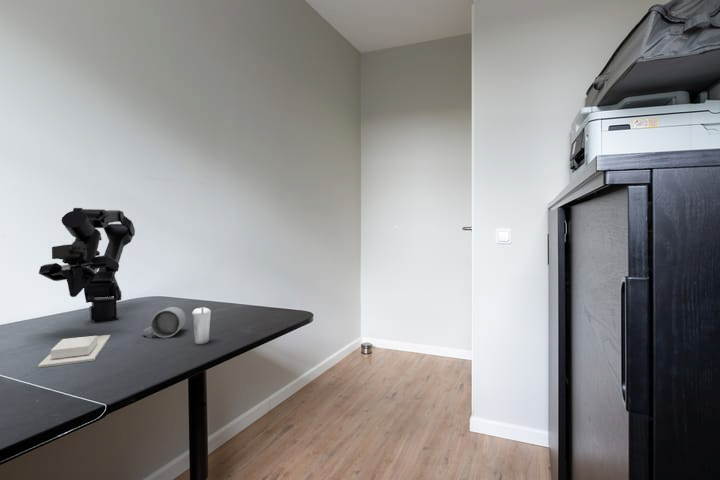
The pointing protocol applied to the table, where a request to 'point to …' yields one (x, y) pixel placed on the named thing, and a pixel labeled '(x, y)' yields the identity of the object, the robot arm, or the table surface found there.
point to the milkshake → (201, 324)
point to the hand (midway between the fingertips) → (72, 296)
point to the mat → (77, 359)
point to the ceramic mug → (166, 322)
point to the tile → (74, 347)
